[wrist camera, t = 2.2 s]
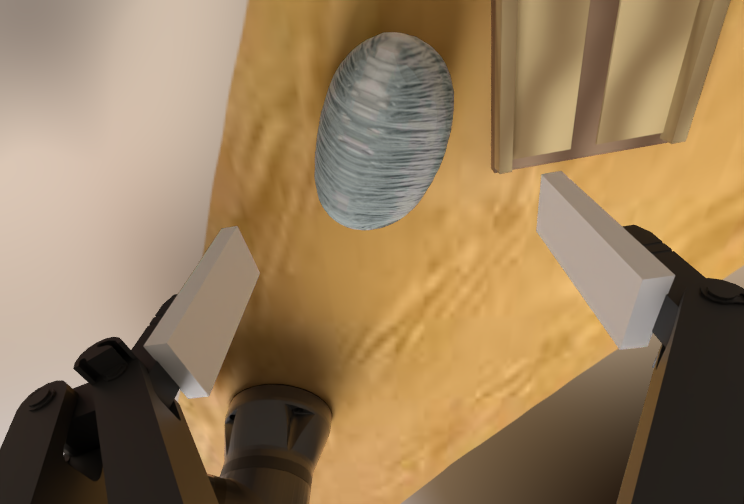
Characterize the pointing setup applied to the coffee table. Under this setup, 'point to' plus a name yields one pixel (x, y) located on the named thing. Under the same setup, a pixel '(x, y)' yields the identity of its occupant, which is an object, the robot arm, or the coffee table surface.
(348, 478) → the coffee table surface
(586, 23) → the shallow beige tray
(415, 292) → the coffee table surface
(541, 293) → the coffee table surface
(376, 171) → the grey streaked ellipsoid
